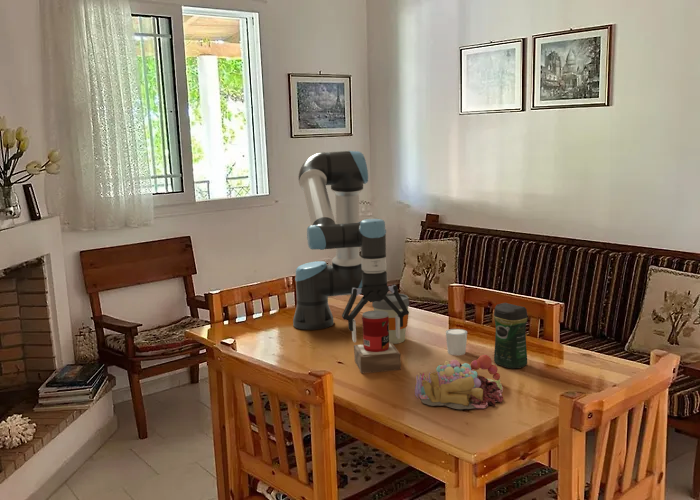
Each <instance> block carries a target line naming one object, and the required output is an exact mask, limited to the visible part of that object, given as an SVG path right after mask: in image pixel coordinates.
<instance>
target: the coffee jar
mask: <svg viewBox="0 0 700 500" xmlns="http://www.w3.org/2000/svg"><path fill="white" fill-rule="evenodd" d="M493 311H494V312H493V319H494V324H495V339H494V350H493V351H494V352H493V353H494V354H493V362H494V364H497V365H499V366H501V367H504V368H506V369H507V368H508V369H521V367H522V368H524V367H525V366H527V365H528V351H527V335H526V326H527V322H528V311H527V308H526V307H525V306H520V305H516V304H511V303H507V302H502V303H498V304H496V305H495V307H494V310H493Z"/></svg>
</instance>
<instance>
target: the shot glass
mask: <svg viewBox="0 0 700 500" xmlns="http://www.w3.org/2000/svg"><path fill="white" fill-rule="evenodd" d="M467 338H468V331H467V330H465V329H462V328H450V329H447V330H446V331H445V339H446V349H447V354H448V355H450V356H464V355H465V354H466V351H467V340H468V339H467Z"/></svg>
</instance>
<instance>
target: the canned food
mask: <svg viewBox="0 0 700 500" xmlns="http://www.w3.org/2000/svg"><path fill="white" fill-rule="evenodd" d="M361 316H362V321H361V322H362V343H363V344H362V345H363V346H364V349H365V350H367V351H370V352H382V351H386V350H387V349H388V348H389V316H388V313H387V312H385V311H378V310H375V311H374V310H368V311H365V312H362V315H361Z"/></svg>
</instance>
